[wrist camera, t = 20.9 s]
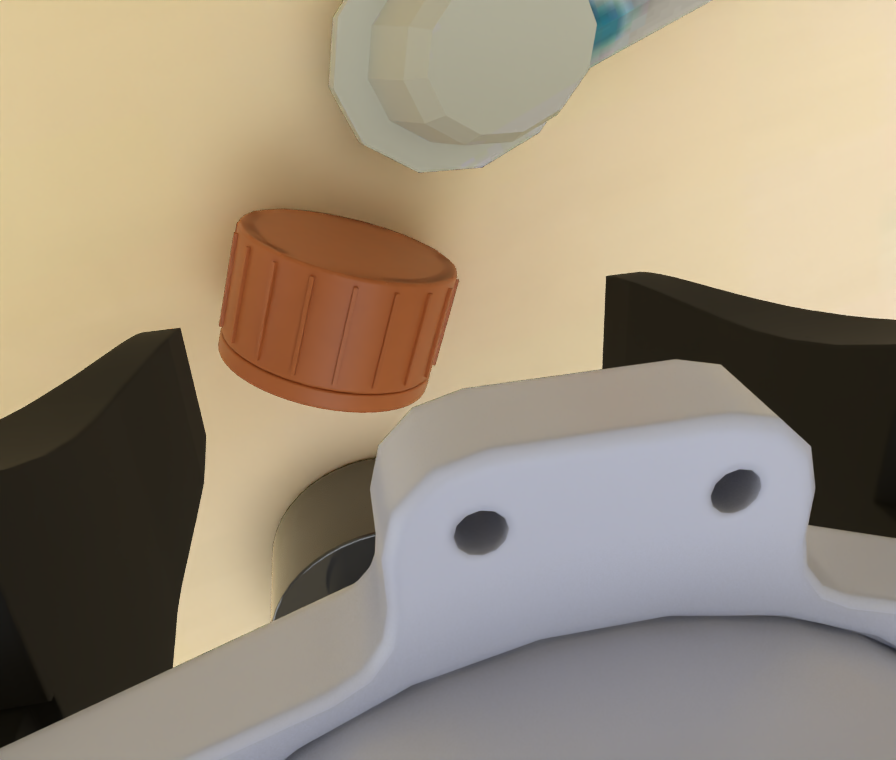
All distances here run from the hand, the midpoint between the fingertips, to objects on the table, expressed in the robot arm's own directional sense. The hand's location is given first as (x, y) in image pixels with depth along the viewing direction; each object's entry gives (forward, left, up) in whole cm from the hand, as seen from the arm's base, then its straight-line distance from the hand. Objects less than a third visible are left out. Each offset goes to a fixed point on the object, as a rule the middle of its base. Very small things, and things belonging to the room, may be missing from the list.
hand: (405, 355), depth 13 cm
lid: (0, -1, -8) cm, 8 cm away
